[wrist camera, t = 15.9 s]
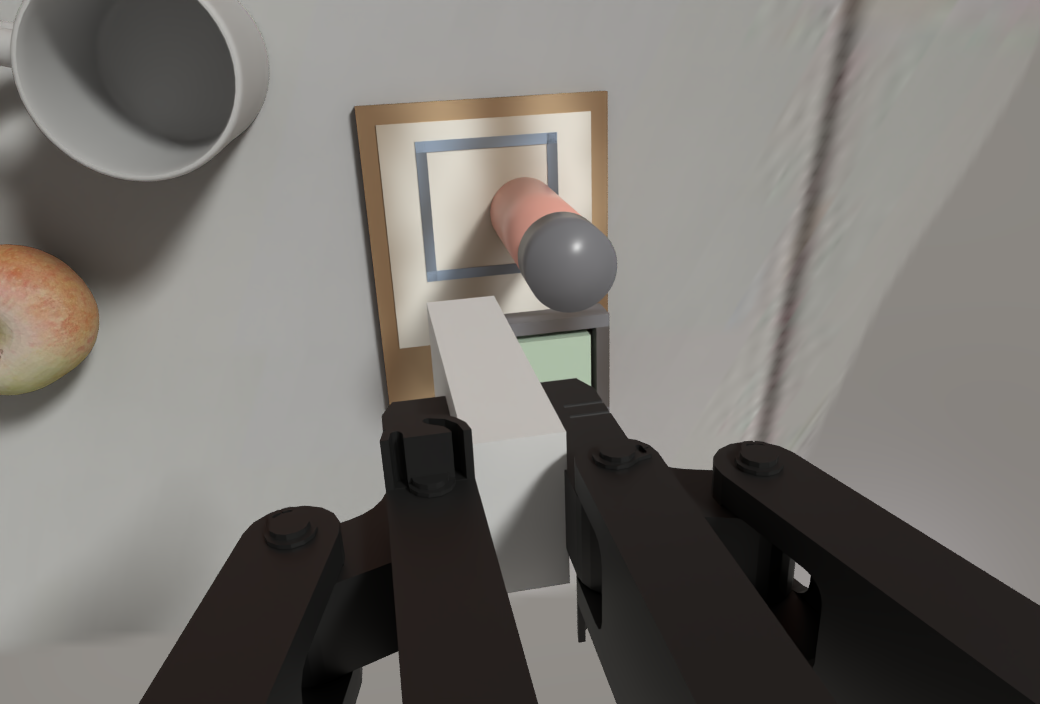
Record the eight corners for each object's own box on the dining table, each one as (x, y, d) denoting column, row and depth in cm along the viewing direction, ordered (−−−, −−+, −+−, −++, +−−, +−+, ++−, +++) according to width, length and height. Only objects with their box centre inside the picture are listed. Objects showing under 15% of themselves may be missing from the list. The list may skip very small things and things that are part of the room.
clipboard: (392, 433, 51) (394, 453, 48) (354, 106, 43) (354, 110, 41) (605, 406, 53) (616, 424, 51) (604, 90, 45) (618, 94, 43)
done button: (513, 401, 51) (518, 413, 49) (509, 333, 49) (515, 343, 47) (583, 392, 51) (591, 404, 50) (582, 325, 50) (590, 335, 48)
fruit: (124, 358, 46) (81, 420, 39) (-18, 364, 45) (-90, 430, 37) (102, 227, 43) (51, 268, 36) (-51, 230, 42) (-135, 273, 34)
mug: (275, -11, 40) (250, -24, 30) (265, 159, 43) (239, 198, 33) (10, -62, 38) (-114, -94, 28) (17, 123, 40) (-92, 155, 30)
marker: (487, 245, 47) (524, 312, 36) (490, 175, 45) (530, 222, 34) (555, 247, 48) (612, 312, 37) (561, 177, 46) (621, 224, 35)
